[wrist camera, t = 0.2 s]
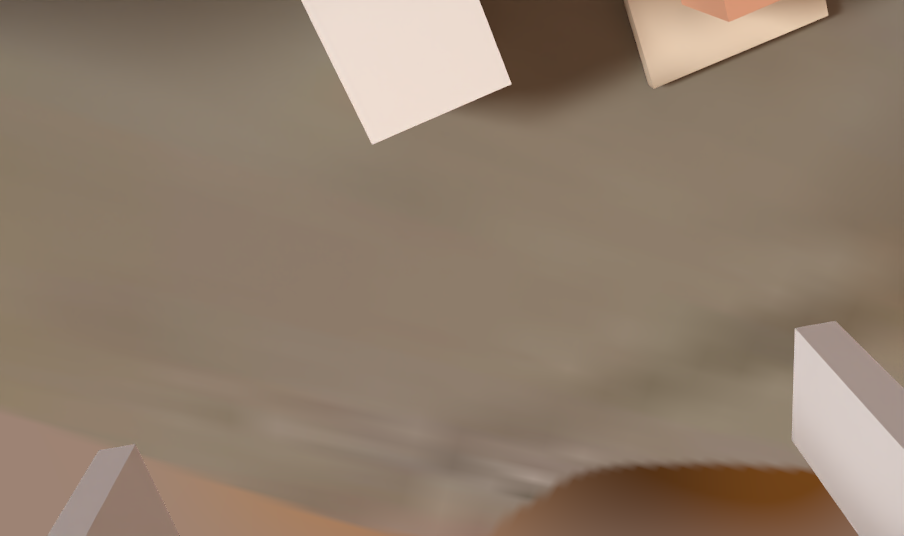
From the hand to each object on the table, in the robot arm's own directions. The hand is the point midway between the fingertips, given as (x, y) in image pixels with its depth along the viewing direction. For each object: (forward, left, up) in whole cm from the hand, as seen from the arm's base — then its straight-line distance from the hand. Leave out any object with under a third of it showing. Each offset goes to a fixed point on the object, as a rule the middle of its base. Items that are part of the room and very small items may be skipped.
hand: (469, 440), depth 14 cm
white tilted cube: (-5, +1, -26) cm, 27 cm away
